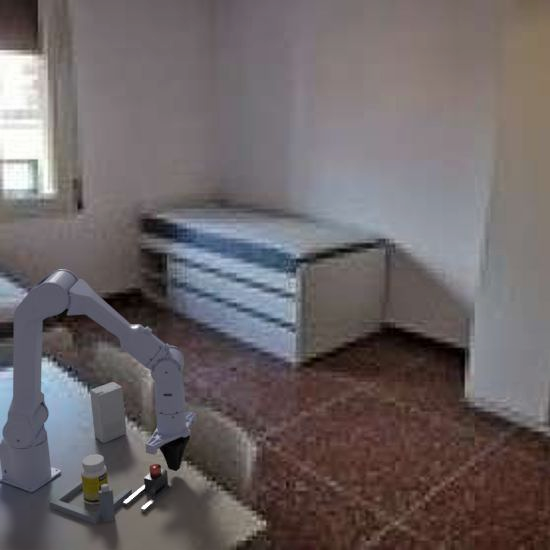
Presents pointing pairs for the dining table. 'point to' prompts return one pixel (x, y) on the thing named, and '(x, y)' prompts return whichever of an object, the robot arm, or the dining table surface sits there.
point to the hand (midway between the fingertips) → (174, 468)
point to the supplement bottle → (93, 477)
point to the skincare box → (108, 412)
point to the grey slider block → (155, 480)
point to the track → (152, 501)
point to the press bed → (103, 514)
